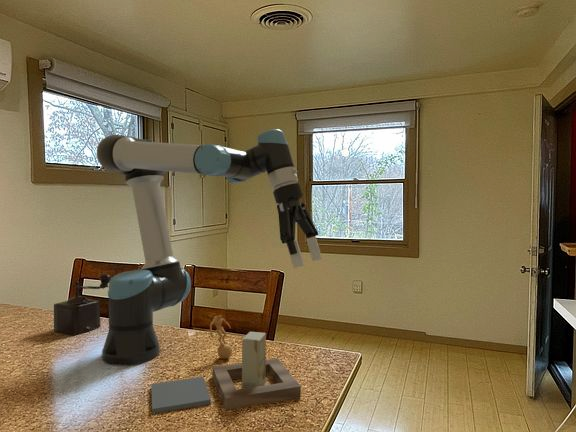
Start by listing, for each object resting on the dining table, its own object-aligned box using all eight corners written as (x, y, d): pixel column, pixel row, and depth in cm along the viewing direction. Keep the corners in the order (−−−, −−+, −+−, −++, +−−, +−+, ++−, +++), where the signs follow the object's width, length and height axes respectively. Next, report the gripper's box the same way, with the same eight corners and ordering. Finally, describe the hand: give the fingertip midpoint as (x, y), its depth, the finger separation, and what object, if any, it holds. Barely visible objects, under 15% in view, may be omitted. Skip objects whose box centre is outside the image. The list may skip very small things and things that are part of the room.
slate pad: (151, 388, 93) (151, 383, 93) (203, 380, 97) (203, 376, 97) (152, 413, 82) (152, 409, 82) (210, 404, 86) (210, 399, 86)
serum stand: (212, 376, 100) (212, 366, 99) (276, 367, 105) (277, 358, 105) (225, 410, 84) (225, 398, 83) (300, 397, 89) (300, 386, 89)
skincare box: (259, 393, 91) (259, 340, 90) (241, 391, 92) (241, 339, 91) (266, 381, 97) (266, 331, 97) (249, 379, 98) (249, 330, 98)
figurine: (220, 364, 107) (220, 320, 106) (203, 360, 110) (203, 317, 109) (239, 354, 114) (239, 313, 114) (223, 350, 117) (223, 310, 117)
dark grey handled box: (75, 336, 128) (74, 281, 128) (52, 331, 133) (52, 278, 133) (114, 323, 142) (114, 273, 142) (93, 319, 147) (92, 271, 147)
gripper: (278, 179, 93) (304, 266, 91) (314, 184, 116) (335, 254, 114) (251, 189, 96) (276, 274, 94) (291, 192, 119) (312, 260, 117)
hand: (308, 263), depth 104 cm, fingers open, 13 cm apart
